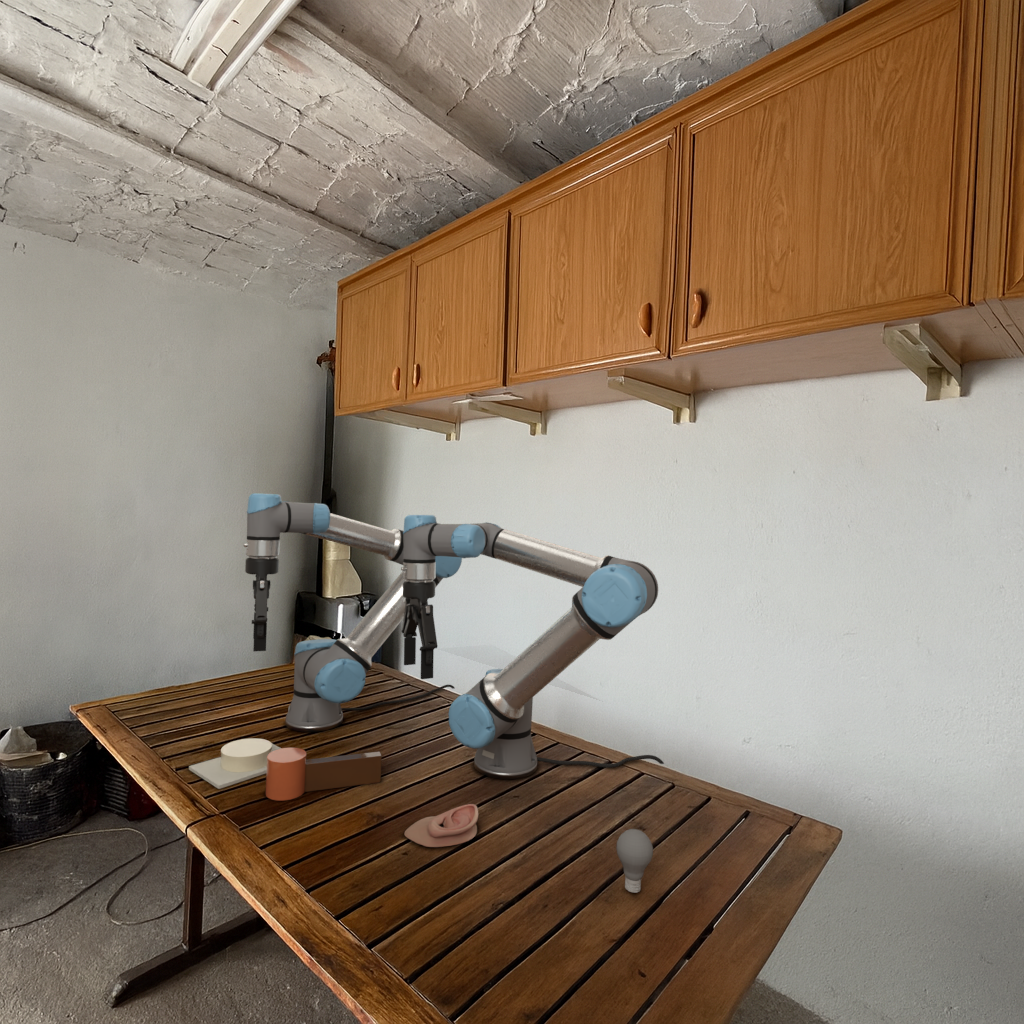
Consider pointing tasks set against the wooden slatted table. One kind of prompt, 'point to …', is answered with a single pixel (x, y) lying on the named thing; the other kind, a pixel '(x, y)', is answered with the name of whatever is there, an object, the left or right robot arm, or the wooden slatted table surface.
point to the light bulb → (634, 857)
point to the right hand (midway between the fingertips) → (417, 671)
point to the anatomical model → (445, 827)
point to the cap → (245, 755)
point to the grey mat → (224, 772)
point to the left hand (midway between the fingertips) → (259, 644)
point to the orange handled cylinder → (317, 772)
